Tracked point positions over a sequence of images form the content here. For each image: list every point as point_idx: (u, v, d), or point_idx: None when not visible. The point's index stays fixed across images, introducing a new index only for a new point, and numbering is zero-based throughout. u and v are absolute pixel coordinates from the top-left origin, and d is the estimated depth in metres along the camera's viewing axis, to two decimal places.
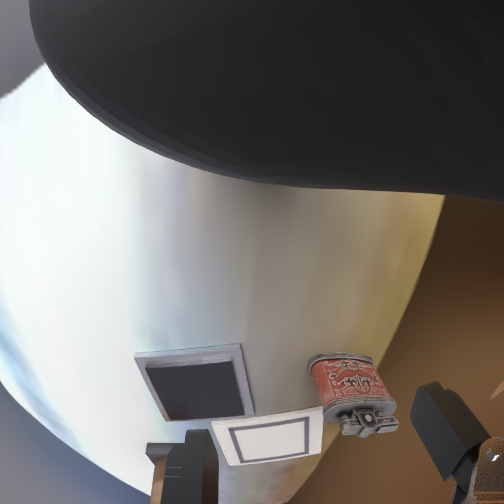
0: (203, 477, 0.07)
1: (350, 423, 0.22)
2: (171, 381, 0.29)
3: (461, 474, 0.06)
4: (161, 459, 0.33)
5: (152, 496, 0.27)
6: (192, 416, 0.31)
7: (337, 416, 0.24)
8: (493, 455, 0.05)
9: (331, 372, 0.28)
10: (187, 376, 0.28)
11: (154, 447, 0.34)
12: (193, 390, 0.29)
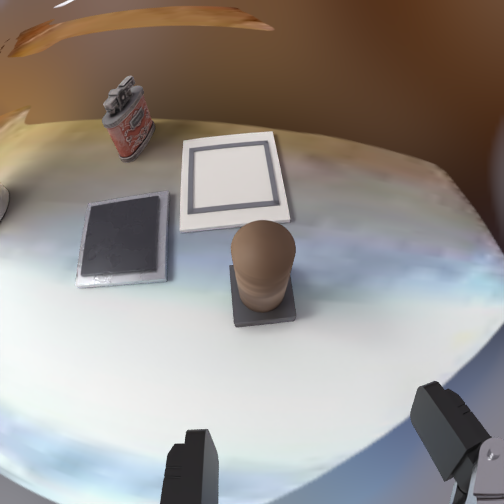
0: (203, 477, 0.07)
1: None
2: (98, 254, 0.30)
3: (461, 474, 0.06)
4: (240, 296, 0.27)
5: (242, 281, 0.21)
6: (149, 243, 0.31)
7: (114, 116, 0.32)
8: (493, 455, 0.05)
9: None
10: (95, 239, 0.31)
11: None
12: (112, 236, 0.31)
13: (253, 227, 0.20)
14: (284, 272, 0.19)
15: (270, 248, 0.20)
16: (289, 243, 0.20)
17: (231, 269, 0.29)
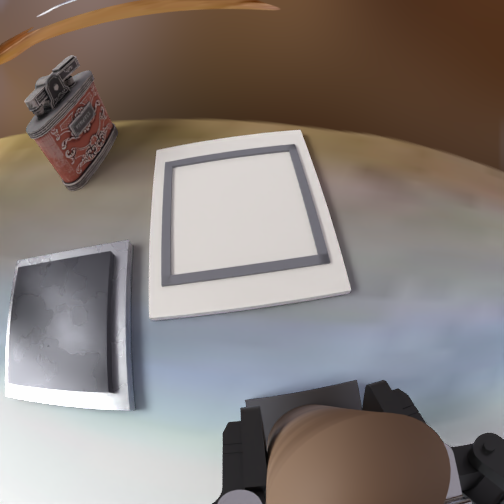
0: (264, 449, 0.08)
1: None
2: (26, 353, 0.15)
3: None
4: None
5: None
6: (97, 344, 0.15)
7: (43, 118, 0.17)
8: None
9: None
10: (22, 326, 0.16)
11: None
12: (43, 325, 0.16)
13: (336, 444, 0.05)
14: None
15: (388, 498, 0.04)
16: (437, 470, 0.04)
17: None
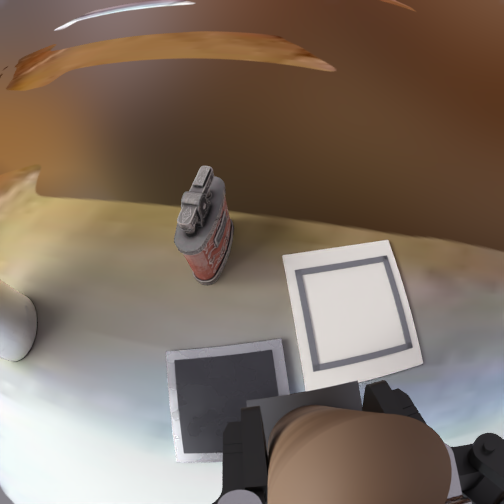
0: (264, 449, 0.08)
1: None
2: (203, 429, 0.23)
3: None
4: None
5: None
6: None
7: (195, 236, 0.25)
8: None
9: None
10: (194, 409, 0.24)
11: None
12: (219, 407, 0.24)
13: (338, 446, 0.05)
14: None
15: (389, 499, 0.04)
16: (439, 471, 0.04)
17: None
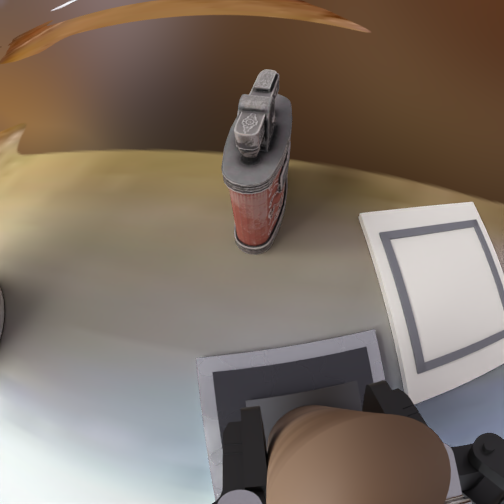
0: (264, 449, 0.08)
1: None
2: None
3: None
4: None
5: None
6: None
7: (257, 163, 0.15)
8: None
9: None
10: None
11: None
12: None
13: (337, 445, 0.05)
14: None
15: (388, 500, 0.04)
16: (438, 471, 0.04)
17: None
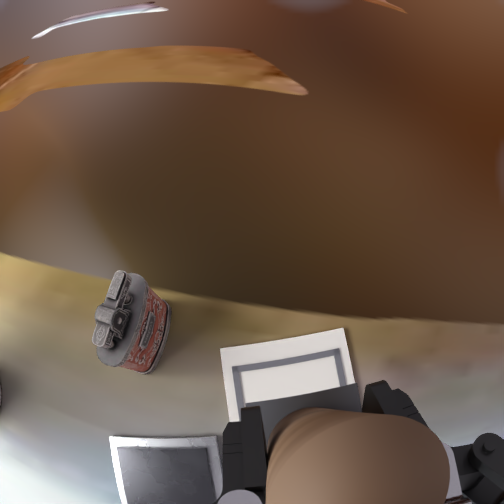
0: (264, 449, 0.08)
1: None
2: None
3: None
4: None
5: None
6: None
7: (115, 349, 0.21)
8: None
9: None
10: (137, 490, 0.20)
11: None
12: (158, 492, 0.20)
13: (335, 446, 0.05)
14: None
15: (387, 500, 0.04)
16: (437, 471, 0.04)
17: None
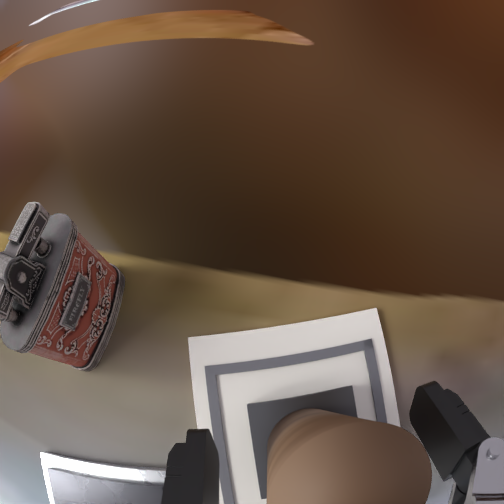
0: (204, 476, 0.07)
1: None
2: None
3: (460, 474, 0.06)
4: None
5: None
6: None
7: (20, 324, 0.11)
8: (492, 455, 0.05)
9: None
10: None
11: None
12: None
13: (328, 448, 0.06)
14: None
15: (374, 496, 0.05)
16: (419, 472, 0.05)
17: (251, 412, 0.14)
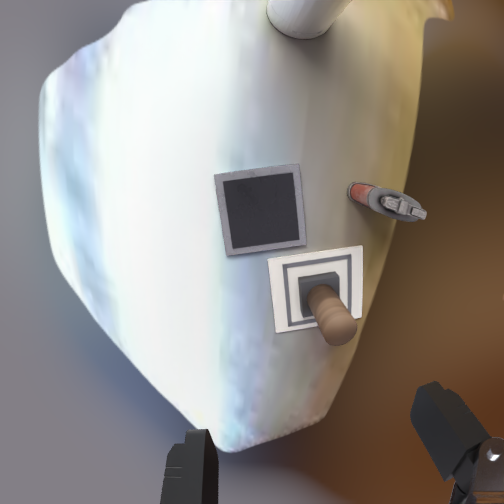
0: (203, 477, 0.07)
1: (389, 197, 0.31)
2: (242, 195, 0.38)
3: (461, 474, 0.06)
4: (317, 287, 0.41)
5: (324, 312, 0.35)
6: (253, 241, 0.40)
7: (378, 202, 0.33)
8: (493, 455, 0.05)
9: (366, 185, 0.37)
10: (257, 188, 0.38)
11: (307, 278, 0.42)
12: (259, 205, 0.39)
13: (353, 324, 0.33)
14: (326, 340, 0.34)
15: (339, 334, 0.34)
16: (341, 342, 0.34)
17: (336, 278, 0.41)
